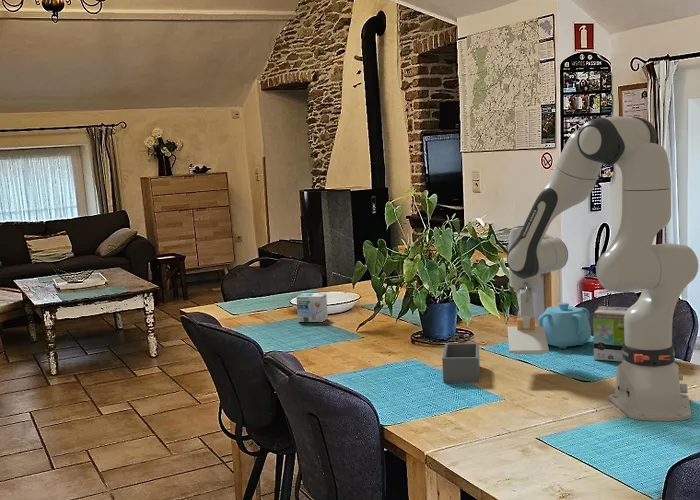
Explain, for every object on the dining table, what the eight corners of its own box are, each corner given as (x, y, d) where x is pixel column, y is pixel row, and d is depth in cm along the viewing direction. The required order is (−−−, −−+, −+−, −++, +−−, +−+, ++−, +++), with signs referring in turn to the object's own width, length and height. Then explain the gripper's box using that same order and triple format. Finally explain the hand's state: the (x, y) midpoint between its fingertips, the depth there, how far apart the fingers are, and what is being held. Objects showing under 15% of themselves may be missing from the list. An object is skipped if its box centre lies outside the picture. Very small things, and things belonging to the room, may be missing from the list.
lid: (548, 356, 211) (548, 340, 209) (509, 356, 213) (509, 340, 211) (544, 331, 226) (544, 316, 225) (507, 332, 228) (507, 317, 227)
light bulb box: (297, 323, 304) (295, 296, 302) (303, 319, 310) (301, 292, 309) (323, 323, 301) (321, 296, 299) (328, 319, 307) (326, 292, 306)
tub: (479, 382, 214) (478, 358, 214) (443, 382, 216) (442, 358, 215) (479, 366, 230) (478, 343, 229) (446, 366, 232) (445, 343, 231)
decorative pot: (547, 336, 260) (546, 297, 258) (596, 340, 251) (595, 299, 250) (532, 348, 246) (531, 307, 244) (583, 352, 238) (582, 309, 236)
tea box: (593, 361, 228) (592, 312, 227) (599, 352, 237) (598, 305, 235) (646, 364, 221) (646, 314, 220) (651, 355, 230) (650, 307, 228)
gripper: (538, 286, 213) (539, 334, 215) (533, 273, 233) (534, 317, 234) (515, 286, 214) (516, 335, 216) (512, 273, 234) (513, 318, 236)
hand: (526, 326), depth 225 cm, fingers closed on lid, 2 cm apart
